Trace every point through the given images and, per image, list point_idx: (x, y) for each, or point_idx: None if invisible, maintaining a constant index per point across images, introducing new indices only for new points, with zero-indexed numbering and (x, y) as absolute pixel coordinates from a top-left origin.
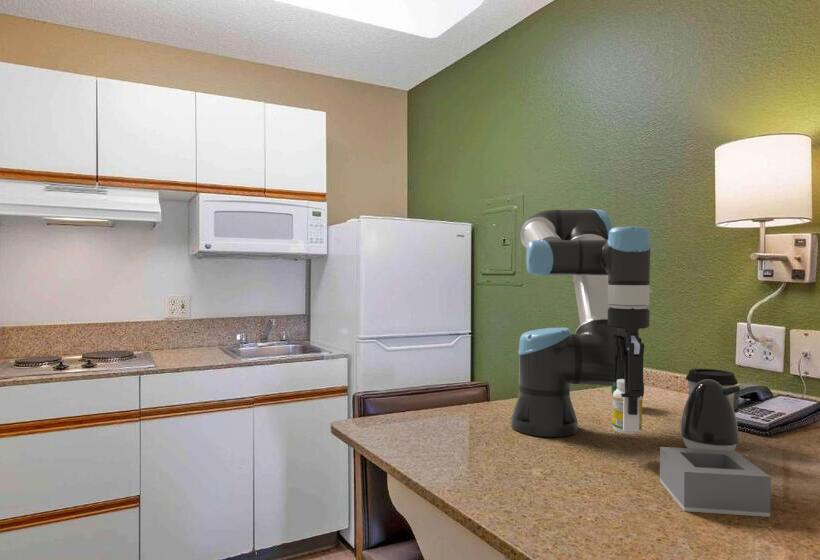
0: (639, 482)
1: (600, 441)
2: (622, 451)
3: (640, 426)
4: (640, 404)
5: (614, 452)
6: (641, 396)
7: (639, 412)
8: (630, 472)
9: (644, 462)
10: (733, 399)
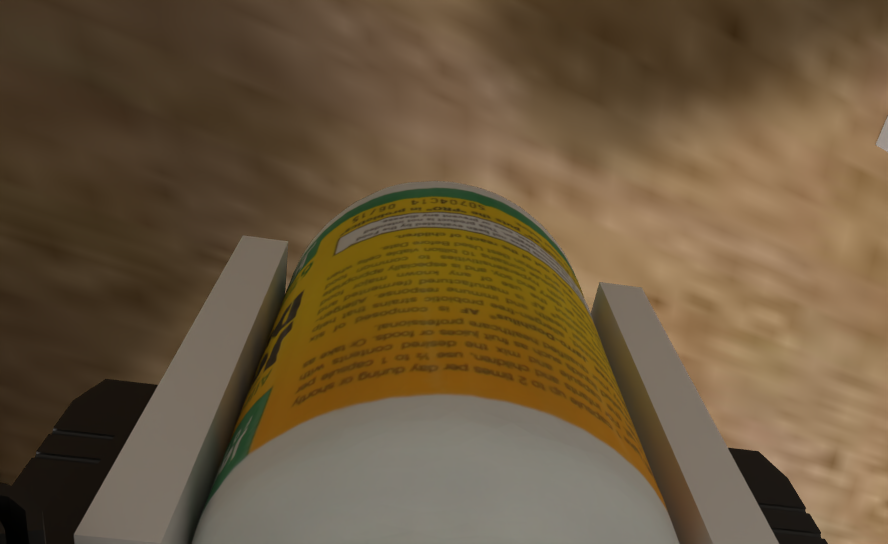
0: (857, 279)
1: (5, 233)
2: (241, 154)
3: (553, 248)
4: (624, 420)
5: (274, 223)
6: (606, 481)
7: (607, 362)
8: (686, 266)
9: (496, 86)
10: None
